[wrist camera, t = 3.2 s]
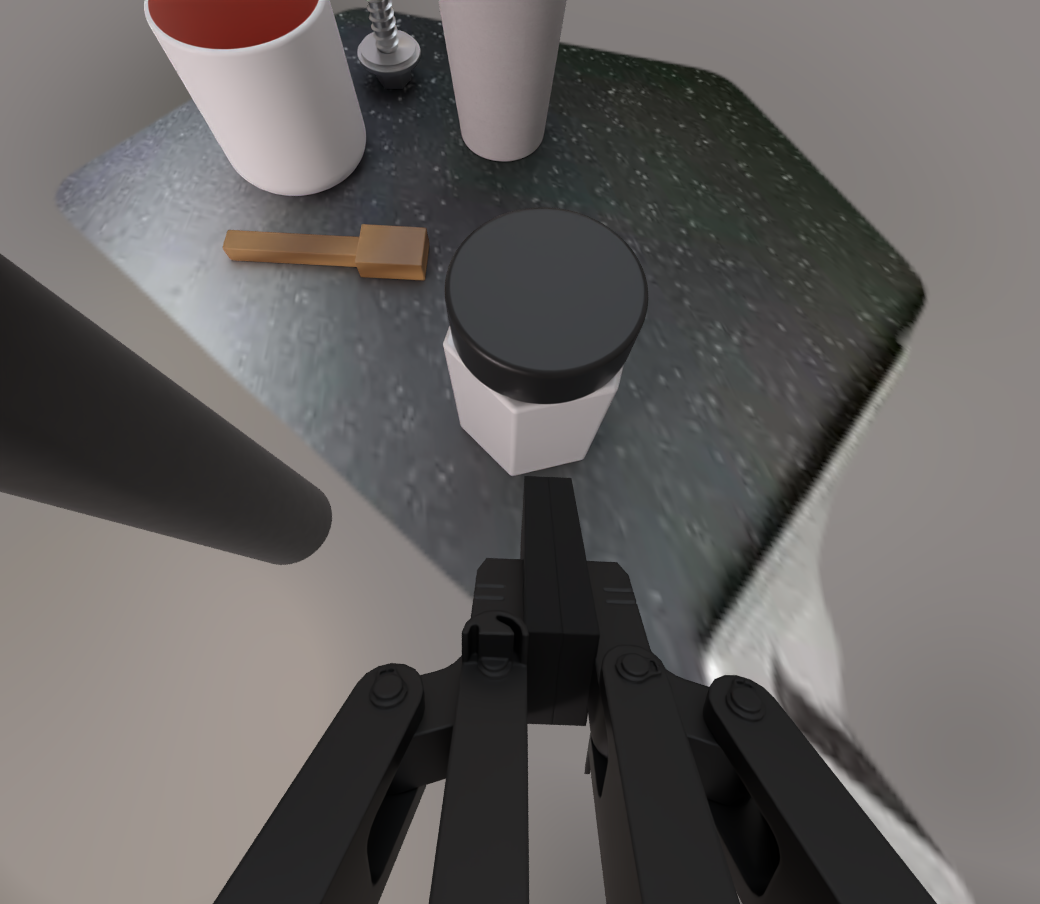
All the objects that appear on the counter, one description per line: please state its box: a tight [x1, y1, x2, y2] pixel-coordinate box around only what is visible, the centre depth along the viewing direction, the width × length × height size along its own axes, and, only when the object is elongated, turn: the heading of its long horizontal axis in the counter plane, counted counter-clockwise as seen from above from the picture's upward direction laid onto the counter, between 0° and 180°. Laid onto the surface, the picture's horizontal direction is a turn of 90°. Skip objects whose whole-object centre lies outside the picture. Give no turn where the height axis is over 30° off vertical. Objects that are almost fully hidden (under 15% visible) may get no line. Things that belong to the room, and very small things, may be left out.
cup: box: [144, 0, 366, 196], centre depth 32 cm, size 10×10×10 cm
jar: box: [443, 208, 648, 476], centre depth 25 cm, size 9×8×12 cm
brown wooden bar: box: [223, 224, 429, 280], centre depth 33 cm, size 13×3×2 cm, turn 88°
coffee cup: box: [438, 0, 566, 161], centre depth 31 cm, size 10×10×15 cm
